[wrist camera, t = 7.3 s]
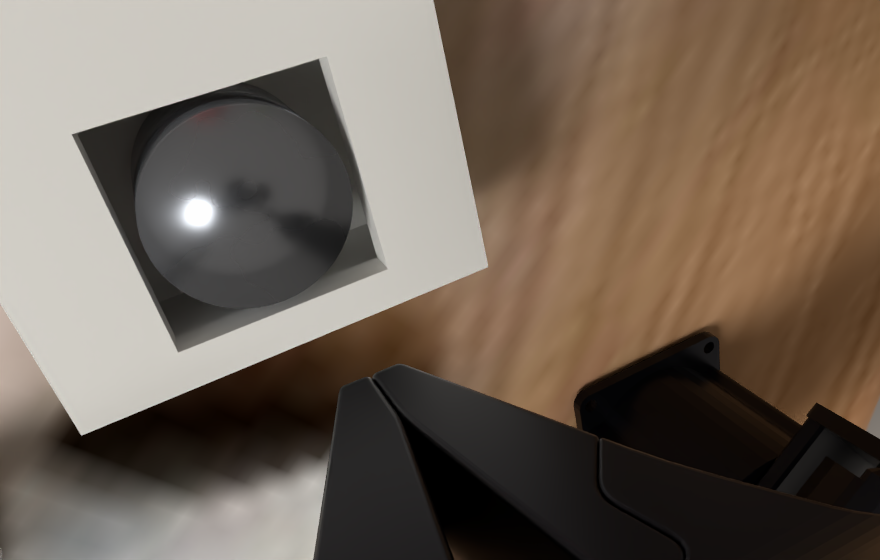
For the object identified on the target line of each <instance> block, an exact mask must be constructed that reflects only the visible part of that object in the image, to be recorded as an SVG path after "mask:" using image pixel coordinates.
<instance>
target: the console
mask: <svg viewBox="0 0 880 560" xmlns="http://www.w3.org/2000/svg"><path fill="white" fill-rule="evenodd" d="M241 82H243V83H246V84H250V85H253V86H256V87H258V88H260V89H263V90H265V91H267V92H269V93H270V94H272V95H274V96H275V97H277V98H278V99H279V100H281V101H282V102H283V103H284V104H286V105H287V106H288V107H289V108H291V109H292V110H293V111H294V112H296V113H297V114H298V115H299V116H301V117H302V118H303V119H304V120H306V121H307V122H308V123H309V124H311V125H312V126H313V127H314V128H316V129H317V130H318V131H319V132H321V133H322V134H323V135H324V136H325V138H326V139H327V140H328V141H329V142H330V143H331V144H332V146H333V147H334V148H335V150H336V151H337V152H338V154H339V156H340V158H341V160H342V161H343V163H344V165H345V168H346V170H347V173H348V176H349V179H350V184H351V188H352V197H353V212H352V220H351V226H350V230H349V233H348V236H347V239H346V241H345V244H344V246H343V248H342V250H341V252H340V254H339V255H338V257H337V259H336V260H335V262H334V263H333V264H332V265H331V267H330V268H329V269H328V271H327V272H326V273H325V274H324V275H323V276H322V277H321V278H320V279H319V280H318V281H316V282H315V283H314V284H312V285H311V286H310V287H309V288H307V289H306V290H304V291H302V292H301V293H299V294H298V295H296V296H294V297H291V298H289V299H287V300H285V301H282V302H279V303H276V304H273V305H269V306H264V307H259V308H248V309H235V308H226V307H219V306H215V305H211V304H208V303H204V302H202V301H200V300H197V299H195V298H192V297H191V296H189V295H187V294H185V293H184V292H182V291H180V290H179V289H178V288H176V287H175V286H174V285H172V284H171V283H170V282H169V281H168V280H167V279H166V278H165V277H164V276H163V275H161V274H160V272H159V271H158V270H157V268H156V267H155V266H154V265H153V263H152V262H151V260H150V258H149V257H148V255H147V253H146V251H145V249H144V247H143V244H142V242H141V239H140V236H139V232H138V227H137V222H136V214H135V205H134V196H133V188H132V179H131V154H132V149H133V145H134V141H135V139H136V136H137V133H138V131H139V129H140V127H141V125H142V124H143V122H144V120H145V119H146V118H147V116H148V115H149V114H150V112H151V111H152V110H153V109H156V108H160V107H163V106H166V105H169V104H173V103H176V102H179V101H182V100H186V99H189V98H192V97H196V96H199V95H202V94H205V93H209V92H212V91H215V90H218V89H222V88H225V87H228V86H231V85H235V84H238V83H241ZM487 267H488V263H487V258H486V253H485V248H484V243H483V239H482V234H481V229H480V224H479V219H478V214H477V209H476V205H475V200H474V195H473V190H472V185H471V180H470V176H469V171H468V166H467V161H466V156H465V151H464V146H463V142H462V137H461V132H460V127H459V122H458V117H457V112H456V108H455V103H454V98H453V93H452V88H451V83H450V79H449V74H448V69H447V64H446V59H445V54H444V49H443V45H442V40H441V35H440V30H439V25H438V20H437V16H436V11H435V6H434V1H433V0H0V304H1V306H2V307H3V309H4V311H5V312H6V314H7V316H8V317H9V319H10V320H11V322H12V324H13V325H14V327H15V329H16V330H17V332H18V333H19V335H20V337H21V338H22V340H23V342H24V343H25V345H26V346H27V348H28V350H29V351H30V353H31V355H32V356H33V358H34V359H35V361H36V363H37V364H38V366H39V368H40V369H41V371H42V372H43V374H44V376H45V377H46V379H47V381H48V382H49V384H50V385H51V387H52V389H53V390H54V392H55V393H56V395H57V397H58V398H59V400H60V402H61V403H62V405H63V406H64V408H65V410H66V411H67V413H68V415H69V416H70V418H71V419H72V421H73V423H74V424H75V426H76V428H77V429H78V431H79V432H80V434H81V436H82V435H84V434H87V433H89V432H91V431H94V430H96V429H99V428H101V427H103V426H106V425H108V424H111V423H113V422H116V421H118V420H120V419H123V418H125V417H128V416H130V415H132V414H135V413H137V412H140V411H142V410H144V409H147V408H149V407H152V406H154V405H157V404H159V403H161V402H164V401H166V400H169V399H171V398H173V397H176V396H178V395H181V394H183V393H185V392H188V391H190V390H193V389H195V388H198V387H200V386H202V385H205V384H207V383H210V382H212V381H214V380H217V379H219V378H222V377H224V376H227V375H229V374H231V373H234V372H236V371H239V370H241V369H243V368H246V367H248V366H251V365H253V364H255V363H258V362H260V361H263V360H265V359H268V358H270V357H272V356H275V355H277V354H280V353H282V352H284V351H287V350H289V349H292V348H294V347H296V346H299V345H301V344H304V343H306V342H309V341H311V340H313V339H316V338H318V337H321V336H323V335H325V334H328V333H330V332H333V331H335V330H337V329H340V328H342V327H345V326H347V325H350V324H352V323H354V322H357V321H359V320H362V319H364V318H366V317H369V316H371V315H374V314H376V313H378V312H381V311H383V310H386V309H388V308H391V307H393V306H395V305H398V304H400V303H403V302H405V301H407V300H410V299H412V298H415V297H417V296H419V295H422V294H424V293H427V292H429V291H432V290H434V289H436V288H439V287H441V286H444V285H446V284H448V283H451V282H453V281H456V280H458V279H460V278H463V277H465V276H468V275H470V274H473V273H475V272H477V271H480V270H482V269H485V268H487Z"/></svg>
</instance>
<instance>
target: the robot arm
mask: <svg viewBox="0 0 880 560" xmlns="http://www.w3.org/2000/svg"><path fill="white" fill-rule="evenodd" d="M589 401H590V402H589ZM588 402H589V404H587V403H588ZM586 404H587V405H586ZM574 410H575V417H576V423H577V428H574V427H572V426H569V425H566V424H563V423H561V422H558V421H555V420H553V419H550V418H547V417H544V416H542V415H539V414H536V413H534V412H531V411H528V410H526V409H523V408H520V407H517V406H515V405H512V404H509V403H507V402H504V401H501V400H499V399H496V398H493V397H490V396H488V395H485V394H482V393H480V392H477V391H474V390H472V389H469V388H466V387H463V386H461V385H458V384H455V383H453V382H450V381H447V380H445V379H442V378H439V377H436V376H434V375H431V374H428V373H426V372H423V371H420V370H418V369H415V368H412V367H409V366H407V365H404V364H397V365H394V366H392V367H389V368H387V369H384V370H382V371H379V372H377V373H375V374H374V375H373V378H372V379H371V378H370V377H364V378H362V379H359V380H357V381H354V382H352V383H349V384H347V385H344V386H342V387H341V389H340V391H339V397H338V404H337V410H336V417H335V423H334V430H333V436H332V442H331V449H330V455H329V462H328V468H327V475H326V481H325V488H324V494H323V501H322V507H321V513H320V520H319V526H318V533H317V539H316V546H315V552H314V559H313V560H880V439H879V438H877V437H875V436H873V435H872V434H870V433H868V432H867V431H865V430H863V429H861V428H860V427H858V426H856V425H854V424H853V423H851V422H849V421H848V420H846V419H844V418H842V417H841V416H839V415H837V414H835V413H834V412H832V411H830V410H828V409H827V408H825V407H823V406H822V405H820V404H818V403H816V404H815V405H814V406H813V407H812V409H811V410H810V411H809V412H808V414H807V415H806V416H807V417H808V419H807V420H806V421H805V423H804V424H803V425H800V424H799V423H797V422H796V421H794V420H793V419H791V418H790V417H788V416H787V415H785V414H784V413H782V412H781V411H779V410H778V409H776V408H775V407H773V406H772V405H770V404H769V403H767V402H766V401H764V400H763V399H761V398H760V397H758V396H757V395H755V394H754V393H752V392H751V391H749V390H748V389H746V388H745V387H743V386H742V385H740V384H739V383H737V382H736V381H734V380H733V379H731V378H730V377H728V376H727V375H725V374H724V373H722V372H721V371H720V362H719V340H718V339H717V338H716V337H715V336H714V335H712V334H710V333H709V332H703V333H700V334H698V335H696V336H694V337H692V338H690V339H688V340H686V341H684V342H682V343H679V344H677V345H675V346H673V347H671V348H669V349H667V350H665V351H663V352H661V353H659V354H657V355H655V356H653V357H651V358H649V359H646V360H644V361H642V362H640V363H638V364H636V365H634V366H632V367H630V368H628V369H626V370H624V371H622V372H620V373H618V374H616V375H613V376H611V377H609V378H607V379H605V380H603V381H601V382H599V383H597V384H595V385H593V386H591V387H589V388H587V389H585V390H583V391H581V392H580V393H579V394H578V395H577V396H576V398H575V400H574Z"/></svg>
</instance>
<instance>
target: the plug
mask: <svg viewBox="0 0 880 560" xmlns="http://www.w3.org/2000/svg"><path fill="white" fill-rule="evenodd" d="M131 179H132V188H133V196H134V205H135V214H136V222H137V227H138V232H139V236H140V239H141V242H142V244H143V247H144V249H145V251H146V253H147V255H148V257H149V258H150V260H151V262H152V263H153V265H154V266H155V267H156V268H157V270H158V271H159V272H160V274H161V275H163V276H164V277H165V278H166V279H167V280H168V281H169V282H170V283H171V284H172V285H174V286H175V287H176V288H178V289H179V290H180V291H182V292H184V293H185V294H187V295H189V296H191V297H192V298H195V299H197V300H200V301H202V302H204V303H208V304H211V305H215V306H219V307H226V308H235V309H248V308H259V307H264V306H269V305H273V304H276V303H279V302H282V301H285V300H287V299H289V298H291V297H294V296H296V295H298V294H299V293H301V292H302V291H304V290H306V289H307V288H309V287H310V286H311V285H312V284H314V283H315V282H316V281H318V280H319V279H320V278H321V277H322V276H323V275H324V274H325V273H326V272H327V271H328V269H329V268H330V267H331V265H332V264H333V263H334V262H335V260H336V259H337V257H338V255H339V254H340V252H341V250H342V248H343V246H344V244H345V241H346V239H347V236H348V233H349V230H350V226H351V220H352V212H353V197H352V188H351V184H350V179H349V176H348V173H347V170H346V168H345V165H344V163H343V161H342V160H341V158H340V156H339V154H338V152H337V151H336V150H335V148H334V147H333V146H332V144H331V143H330V142H329V141H328V140H327V139H326V138H325V136H324V135H323V134H322V133H321V132H319V131H318V130H317V129H316V128H314V127H313V126H312V125H311V124H309V123H308V122H307V121H306V120H304V119H303V118H302V117H301V116H299V115H298V114H297V113H296V112H294V111H293V110H292V109H291V108H289V107H288V106H287V105H286V104H284V103H283V102H282V101H281V100H279V99H278V98H277V97H275V96H274V95H272V94H270V93H269V92H267V91H265V90H263V89H260V88H258V87H256V86H253V85H250V84H246V83H243V82H241V83H238V84H235V85H231V86H228V87H225V88H222V89H218V90H215V91H212V92H209V93H205V94H202V95H199V96H196V97H192V98H189V99H186V100H182V101H179V102H176V103H173V104H169V105H166V106H163V107H160V108H156V109H153V110H152V111H151V112H150V114H149V115H148V116H147V118H146V119H145V120H144V122H143V124H142V125H141V127H140V129H139V131H138V133H137V136H136V139H135V141H134V145H133V149H132V154H131Z"/></svg>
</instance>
